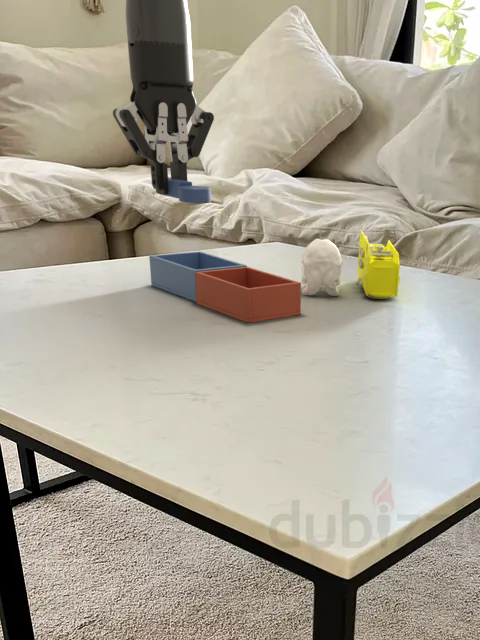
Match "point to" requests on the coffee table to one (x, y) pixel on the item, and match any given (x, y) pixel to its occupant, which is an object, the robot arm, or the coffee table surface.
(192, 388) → the coffee table surface
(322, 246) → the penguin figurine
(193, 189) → the blue spoon
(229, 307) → the red bin
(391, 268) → the yellow toy chassis
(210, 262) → the blue bin
